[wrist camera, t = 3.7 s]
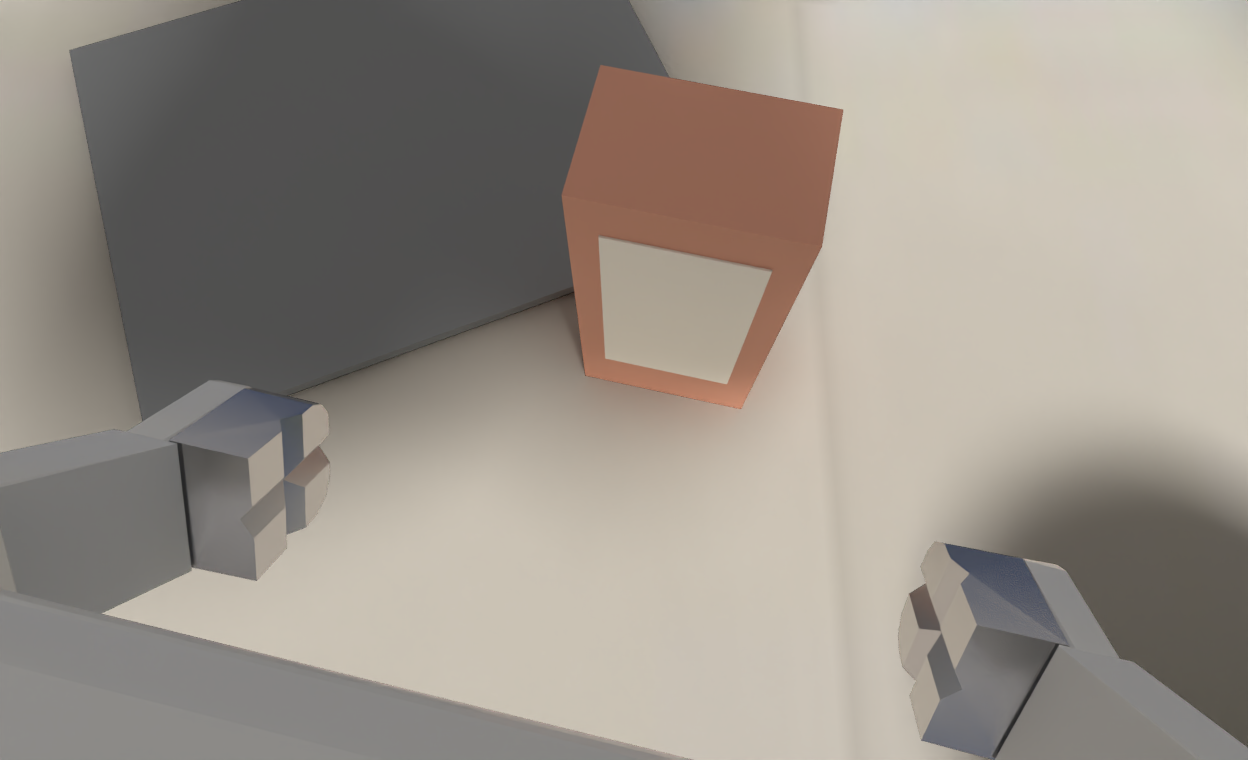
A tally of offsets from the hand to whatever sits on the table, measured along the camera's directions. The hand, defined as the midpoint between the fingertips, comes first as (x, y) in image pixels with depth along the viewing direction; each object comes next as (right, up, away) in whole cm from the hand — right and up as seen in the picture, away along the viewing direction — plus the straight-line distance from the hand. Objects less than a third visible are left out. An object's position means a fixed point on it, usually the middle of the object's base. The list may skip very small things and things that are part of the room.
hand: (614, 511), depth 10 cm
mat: (-8, +10, +17) cm, 21 cm away
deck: (+2, +3, +14) cm, 14 cm away
